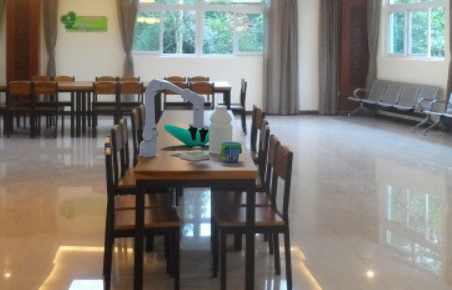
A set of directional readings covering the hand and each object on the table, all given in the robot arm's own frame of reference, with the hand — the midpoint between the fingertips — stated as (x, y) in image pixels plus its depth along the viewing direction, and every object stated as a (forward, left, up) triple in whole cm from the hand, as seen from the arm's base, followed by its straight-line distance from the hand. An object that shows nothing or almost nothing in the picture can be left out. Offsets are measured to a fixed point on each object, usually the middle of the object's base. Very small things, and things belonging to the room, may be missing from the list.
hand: (198, 141), depth 363 cm
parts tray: (+3, +12, -10) cm, 15 cm away
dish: (-2, 0, -10) cm, 10 cm away
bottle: (+23, +7, -10) cm, 26 cm away
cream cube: (-5, 0, -9) cm, 10 cm away
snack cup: (+9, -18, -10) cm, 22 cm away
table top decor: (+29, +38, -10) cm, 49 cm away
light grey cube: (0, 0, -9) cm, 9 cm away
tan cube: (+9, +12, -9) cm, 17 cm away
